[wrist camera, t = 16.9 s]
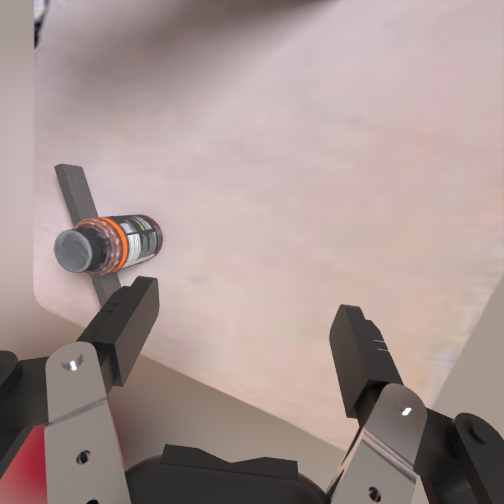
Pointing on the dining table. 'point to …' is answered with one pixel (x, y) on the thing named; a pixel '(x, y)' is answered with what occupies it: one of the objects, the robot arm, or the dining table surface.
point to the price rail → (80, 210)
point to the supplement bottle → (108, 244)
